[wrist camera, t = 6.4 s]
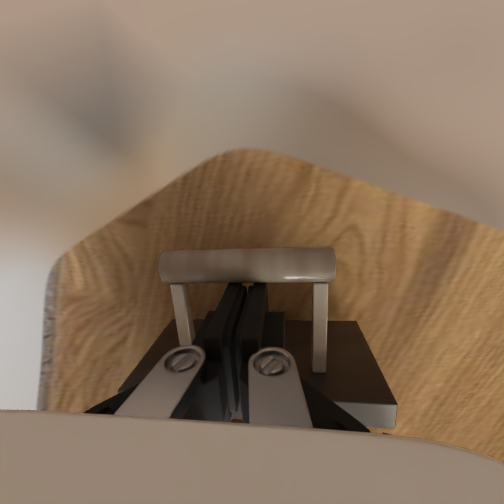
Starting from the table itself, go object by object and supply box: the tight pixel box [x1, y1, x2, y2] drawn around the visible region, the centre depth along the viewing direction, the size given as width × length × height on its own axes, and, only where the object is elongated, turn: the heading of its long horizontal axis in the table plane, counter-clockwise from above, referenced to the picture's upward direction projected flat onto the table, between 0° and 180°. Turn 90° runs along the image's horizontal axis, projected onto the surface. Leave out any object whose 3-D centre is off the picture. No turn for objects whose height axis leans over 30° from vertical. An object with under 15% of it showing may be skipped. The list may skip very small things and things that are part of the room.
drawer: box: [118, 246, 398, 428], centre depth 14 cm, size 18×11×6 cm, turn 3°
